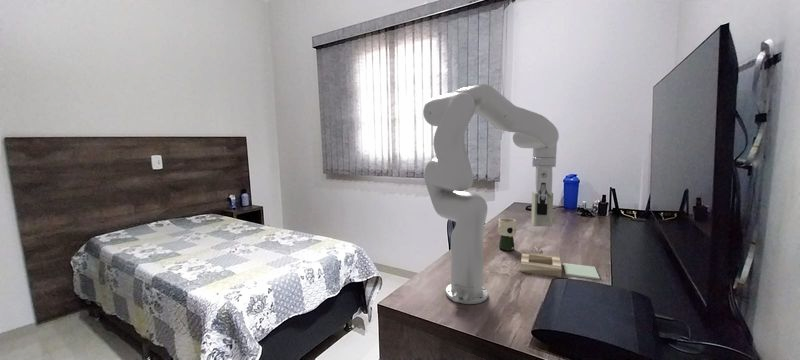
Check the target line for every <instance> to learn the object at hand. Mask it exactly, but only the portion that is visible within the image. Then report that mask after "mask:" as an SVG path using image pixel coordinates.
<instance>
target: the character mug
mask: <svg viewBox="0 0 800 360" xmlns="http://www.w3.org/2000/svg"><path fill="white" fill-rule="evenodd" d="M516 228H517V220H516V218H515V219H514V218H509V217H501V218H498V226H497V234H498V235H500V238H499V242H498V244H499V246H498V248H499V249H501V250H503V251H513V250H515V239H514V236H516V234H517V229H516Z"/></svg>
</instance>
